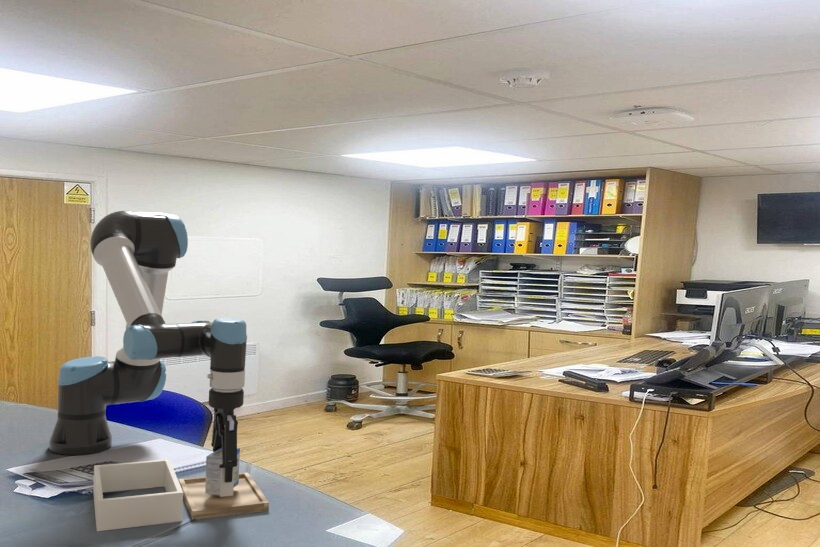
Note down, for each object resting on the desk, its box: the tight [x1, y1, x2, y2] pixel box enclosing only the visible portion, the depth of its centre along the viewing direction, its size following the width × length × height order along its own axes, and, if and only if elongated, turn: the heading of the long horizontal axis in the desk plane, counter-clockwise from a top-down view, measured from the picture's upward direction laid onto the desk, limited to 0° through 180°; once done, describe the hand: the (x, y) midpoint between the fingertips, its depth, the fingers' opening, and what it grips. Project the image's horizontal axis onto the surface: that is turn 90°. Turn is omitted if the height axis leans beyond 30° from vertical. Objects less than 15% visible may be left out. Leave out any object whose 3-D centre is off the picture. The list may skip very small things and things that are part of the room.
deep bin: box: [92, 458, 184, 532], centre depth 151 cm, size 22×16×6 cm
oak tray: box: [178, 472, 270, 521], centre depth 158 cm, size 20×16×2 cm
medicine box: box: [205, 447, 241, 496], centre depth 158 cm, size 8×4×9 cm, turn 168°
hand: (222, 487), depth 158 cm, fingers open, 9 cm apart
